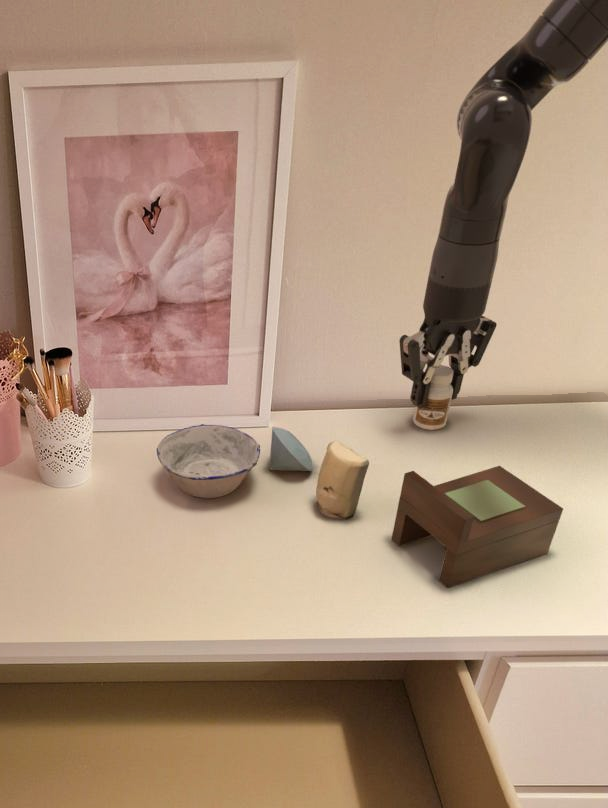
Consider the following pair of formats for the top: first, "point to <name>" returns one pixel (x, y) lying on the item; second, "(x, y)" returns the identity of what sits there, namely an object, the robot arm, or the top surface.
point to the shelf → (476, 521)
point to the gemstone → (288, 452)
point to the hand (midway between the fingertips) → (434, 400)
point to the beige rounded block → (340, 481)
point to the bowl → (208, 459)
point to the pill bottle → (436, 400)
